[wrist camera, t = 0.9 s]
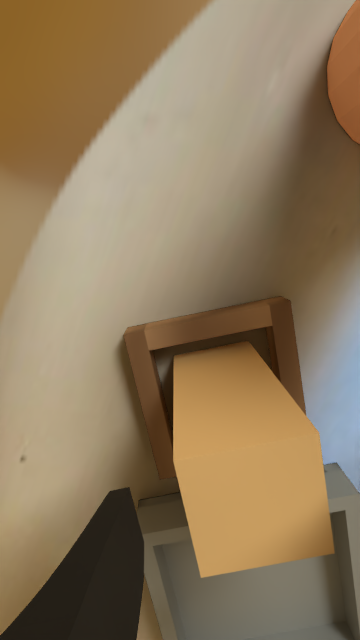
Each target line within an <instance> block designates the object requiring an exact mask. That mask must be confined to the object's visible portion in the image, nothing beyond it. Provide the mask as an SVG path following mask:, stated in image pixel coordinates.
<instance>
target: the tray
mask: <svg viewBox="0 0 360 640" xmlns="http://www.w3.org/2000/svg"><path fill="white" fill-rule="evenodd" d="M323 467H324V475H325V482H326V490H327V498H328V506H329V513H330V521H331V529H332V536H333V544H334V552H335V553H334V554H328V555H323V556H317V557H312V558H307V559H301V560H296V561H290V562H285V563H279V564H274V565H268V566H263V567H258V568H252V569H247V570H241V571H236V572H230V573H225V574H219V575H214V576H209V577H203V578H201V576H200V571H199V567H198V563H197V559H196V555H195V550H194V546H193V542H192V538H191V533H190V529H189V525H188V521H187V517H186V512H185V508H184V504H183V500H182V496H181V492H180V493H175V494H170V495H164V496H159V497H154V498H149V499H143V500H139V502H138V509H137V517H138V521H139V525H140V528H141V532H142V536H143V539H144V574H145V578H146V581H147V585H148V588H149V592H150V595H151V599H152V602H153V606H154V610H155V613H156V617H157V620H158V624H159V627H160V631H161V634H162V638H163V640H360V493H359V492H358V491H357V489H356V488H355V487H354V485H353V484H352V483H351V481H350V480H349V479H348V477H347V476H346V475H345V473H344V472H343V471H342V469H341V468H340V467H339V465H338V464H337V463H332V464H327V465H323Z"/></svg>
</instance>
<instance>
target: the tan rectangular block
mask: <svg viewBox="0 0 360 640" xmlns="http://www.w3.org/2000/svg"><path fill="white" fill-rule="evenodd" d="M173 462H174V466H175V470H176V475H177V479H178V483H179V487H180V491H181V496H182V500H183V504H184V508H185V512H186V517H187V521H188V525H189V529H190V533H191V538H192V542H193V546H194V550H195V555H196V559H197V563H198V567H199V571H200V576H201V578H203V577H209V576H214V575H219V574H225V573H230V572H236V571H241V570H247V569H252V568H258V567H263V566H268V565H274V564H279V563H285V562H290V561H296V560H301V559H307V558H312V557H317V556H323V555H328V554H334V553H335V552H334V544H333V536H332V529H331V521H330V513H329V506H328V498H327V490H326V482H325V475H324V467H323V459H322V452H321V444H320V436H319V432H318V431H317V429H316V428H315V427H314V426H313V424H312V423H311V422H310V420H309V419H308V418H307V416H306V415H305V414H304V413H303V411H302V410H301V409H300V407H299V406H298V405H297V403H296V402H295V401H294V400H293V398H292V397H291V396H290V394H289V393H288V392H287V390H286V389H285V388H284V387H283V385H282V384H281V383H280V381H279V380H278V379H277V377H276V376H275V375H274V374H273V372H272V371H271V370H270V368H269V367H268V366H267V364H266V363H265V362H264V361H263V359H262V358H261V357H260V355H259V354H258V353H257V351H256V350H255V349H254V347H253V346H252V345H251V344H250V342H249V341H244V342H239V343H234V344H229V345H224V346H219V347H214V348H209V349H204V350H199V351H194V352H190V353H185V354H180V355H175V356H174V394H173Z"/></svg>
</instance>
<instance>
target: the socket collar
mask: <svg viewBox="0 0 360 640" xmlns="http://www.w3.org/2000/svg"><path fill="white" fill-rule="evenodd" d="M262 327H266V333H267V339H268V345H269V352H270V358H271V365H272V371H273V374H274V375H275V376H276V377H277V379H278V380H279V381H280V383H281V384H282V385H283V387H284V388H285V389H286V390H287V392H288V393H289V394H290V396H291V397H292V398H293V400H294V401H295V402H296V403H297V405H298V406H299V407H300V409H301V410H302V411H303V413H304V414H305V415H306V410H305V403H304V395H303V388H302V381H301V373H300V366H299V359H298V352H297V344H296V337H295V330H294V322H293V315H292V308H291V301H290V300H288V299H286V298H284V297H282V296H278V297H274V298H269V299H264V300H259V301H254V302H249V303H244V304H240V305H235V306H230V307H225V308H220V309H215V310H210V311H205V312H201V313H196V314H191V315H186V316H181V317H176V318H171V319H167V320H162V321H157V322H152V323H147V324H142V325H137V326H132V327H128V328H127V330H126V331H125V333H124V339H125V343H126V347H127V351H128V355H129V359H130V363H131V367H132V371H133V375H134V379H135V383H136V387H137V391H138V395H139V399H140V403H141V407H142V411H143V415H144V418H145V422H146V426H147V430H148V434H149V438H150V442H151V446H152V450H153V454H154V458H155V462H156V466H157V470H158V474H159V478H160V479H165V478H170V477H176V476H177V475H176V470H175V466H174V462H173V434H172V430H171V426H170V421H169V417H168V413H167V408H166V404H165V400H164V396H163V391H162V387H161V383H160V379H159V374H158V370H157V366H156V361H155V357H154V353H153V350H154V349H159V348H164V347H169V346H174V345H179V344H184V343H189V342H194V341H199V340H203V339H208V338H213V337H218V336H223V335H228V334H233V333H238V332H243V331H248V330H253V329H258V328H262Z"/></svg>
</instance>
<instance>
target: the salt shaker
mask: <svg viewBox="0 0 360 640" xmlns="http://www.w3.org/2000/svg"><path fill="white" fill-rule="evenodd" d="M327 78H328V96H329V99H330V102H331V104H332V107H333V110H334V113H335V116H336V118H337V121H338V122H339V123H340V125H341V126H342V127H343V128H344V130H345V131H346V132H347V133H348V135H349V136H350V137H351V139H352V140H354V141H355V142H357V143H358V144H360V0H356V1H355V2H354V4H353V5H352V6H351V8H350V9H349V10H348V12H347V14H346V16H345V18H344V20H343V21H342V23H341V25H340V27H339V29H338V31H337V33H336V35H335V36H334V39H333V43H332V47H331V52H330V56H329V60H328V65H327Z"/></svg>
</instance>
